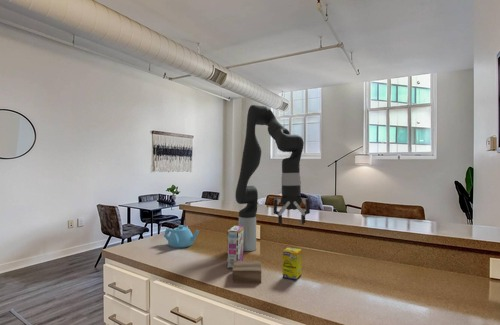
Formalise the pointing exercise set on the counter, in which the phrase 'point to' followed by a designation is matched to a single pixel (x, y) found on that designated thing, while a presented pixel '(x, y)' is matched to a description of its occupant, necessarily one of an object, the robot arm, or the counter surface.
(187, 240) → the teapot
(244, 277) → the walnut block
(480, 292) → the counter surface
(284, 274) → the supplement box
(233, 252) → the candy bar box
